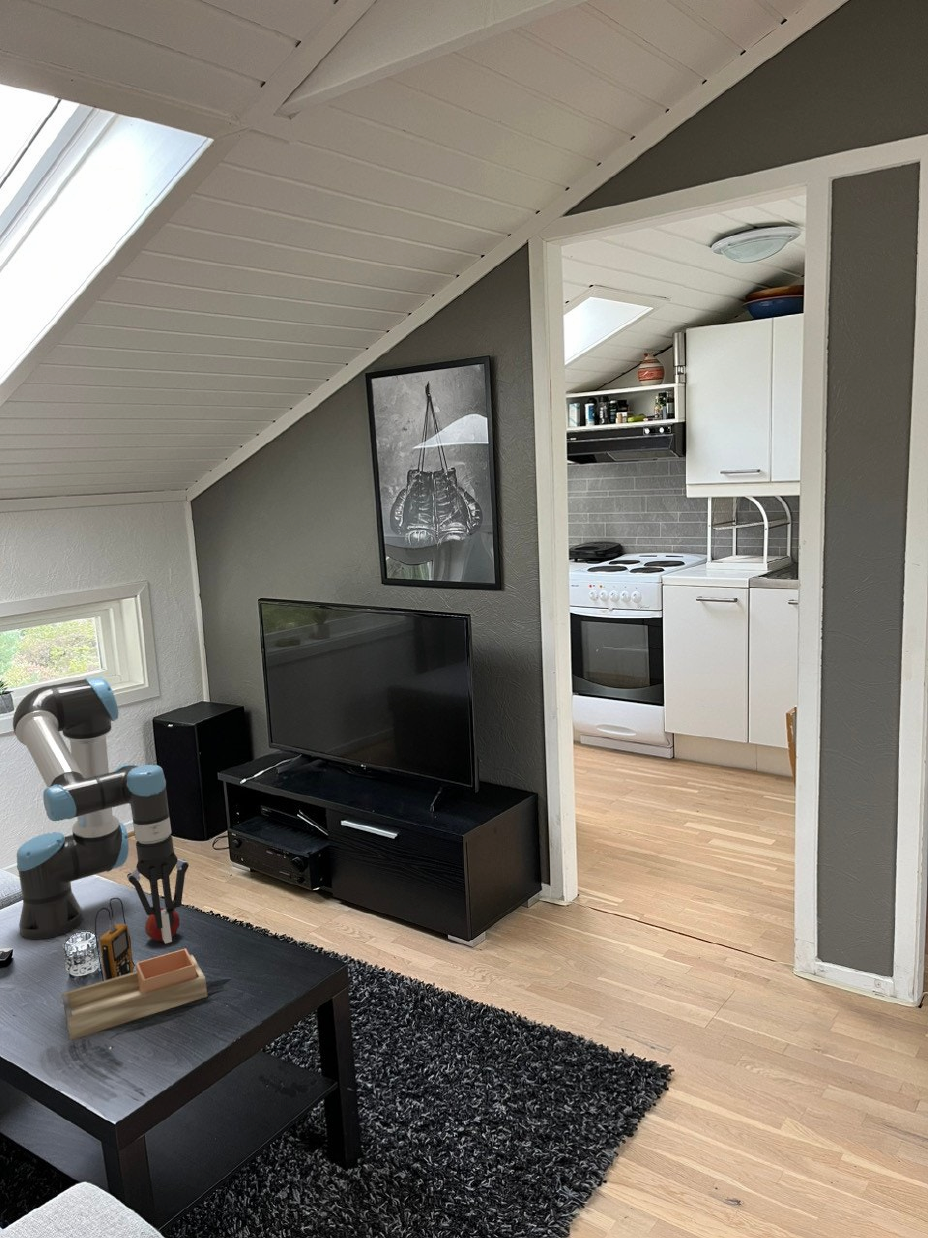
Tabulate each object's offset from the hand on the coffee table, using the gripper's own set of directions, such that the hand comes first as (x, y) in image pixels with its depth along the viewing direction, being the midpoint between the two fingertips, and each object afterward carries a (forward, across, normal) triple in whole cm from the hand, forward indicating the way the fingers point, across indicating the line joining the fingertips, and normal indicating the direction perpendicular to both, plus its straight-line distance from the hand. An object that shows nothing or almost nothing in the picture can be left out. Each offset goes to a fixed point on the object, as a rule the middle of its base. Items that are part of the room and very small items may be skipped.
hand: (167, 940), depth 209 cm
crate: (+11, -1, 0) cm, 11 cm away
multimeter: (+13, -7, +10) cm, 18 cm away
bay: (+13, -8, 0) cm, 15 cm away
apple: (+13, +3, +28) cm, 31 cm away
